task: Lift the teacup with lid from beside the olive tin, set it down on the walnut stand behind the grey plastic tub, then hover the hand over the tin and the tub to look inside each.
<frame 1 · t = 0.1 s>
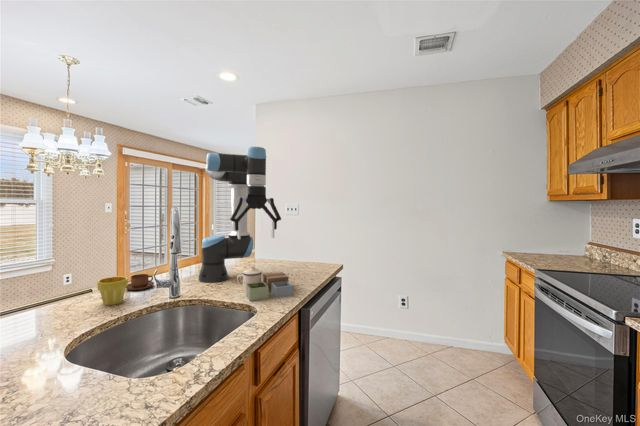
hand: (256, 238, 121), 28 cm above the worktop, tool pointing down, fingers open, 13 cm apart
olive tin: (257, 298, 131), on the worktop
plant pot: (113, 302, 124), on the worktop
grey tub: (281, 295, 137), on the worktop
cup and saucer: (139, 288, 144), on the worktop
teacup with lid: (249, 290, 143), on the worktop
walnut stand: (275, 289, 145), on the worktop
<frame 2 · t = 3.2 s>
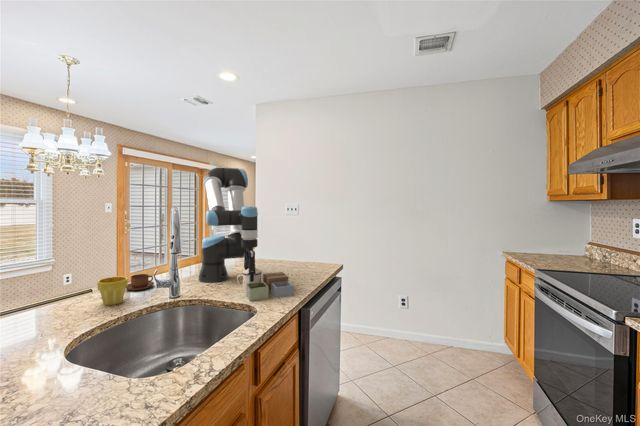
hand: (249, 285, 143), 2 cm above the worktop, tool pointing down, fingers closed on teacup with lid, 9 cm apart
teacup with lid: (249, 290, 144), on the worktop, touching gripper
everything else where it was.
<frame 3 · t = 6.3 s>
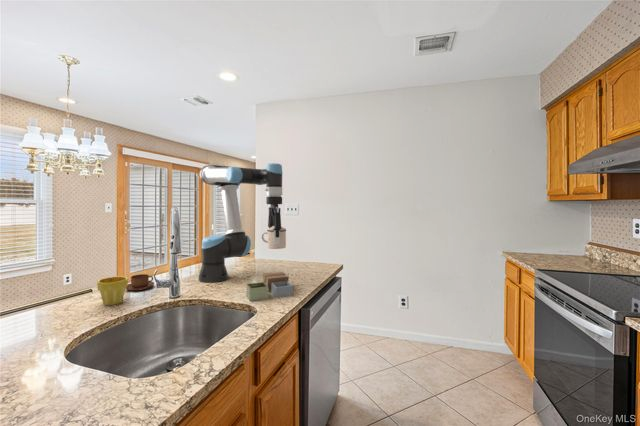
hand: (274, 242, 144), 23 cm above the worktop, tool pointing down, fingers closed on teacup with lid, 9 cm apart
teacup with lid: (273, 247, 144), point 20 cm above the worktop, touching gripper
when the fingers open (10 cm above the worktop, at t = 9.1 s): teacup with lid drops 1 cm, resting on walnut stand.
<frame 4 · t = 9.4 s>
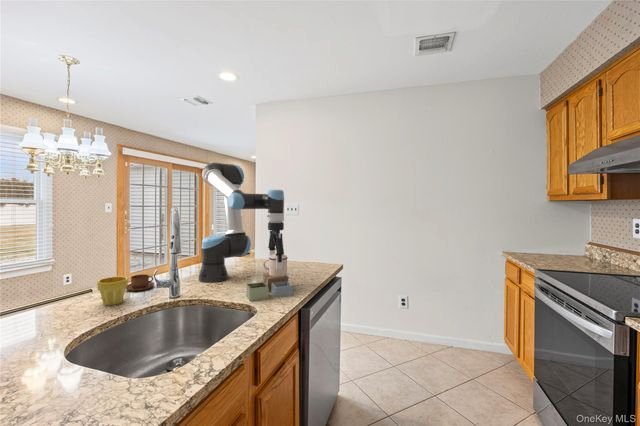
hand: (275, 266, 144), 11 cm above the worktop, tool pointing down, fingers open, 12 cm apart
teacup with lid: (275, 275, 145), point 7 cm above the worktop, touching walnut stand
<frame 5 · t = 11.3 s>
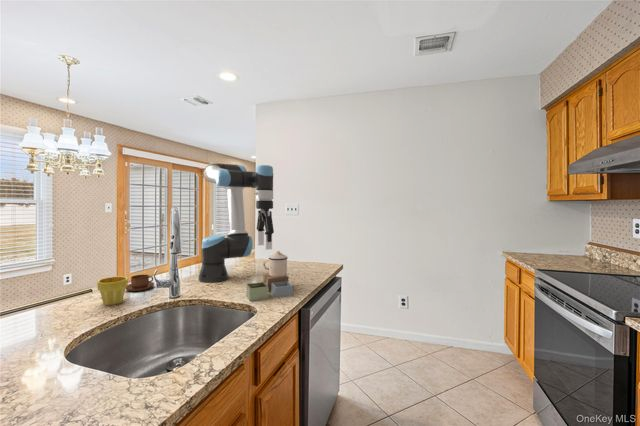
hand: (264, 247, 134), 22 cm above the worktop, tool pointing down, fingers open, 13 cm apart
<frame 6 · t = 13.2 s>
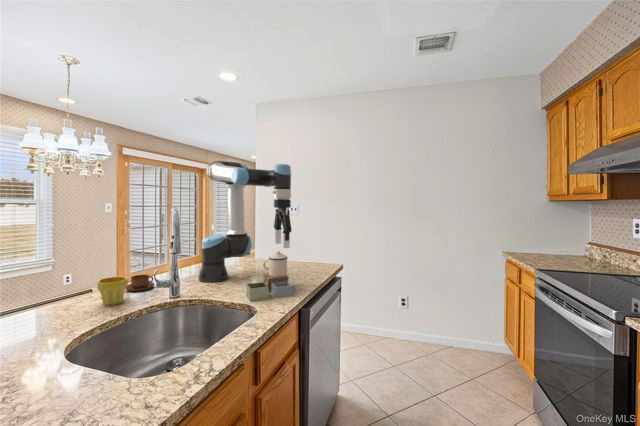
hand: (282, 245, 135), 23 cm above the worktop, tool pointing down, fingers open, 13 cm apart
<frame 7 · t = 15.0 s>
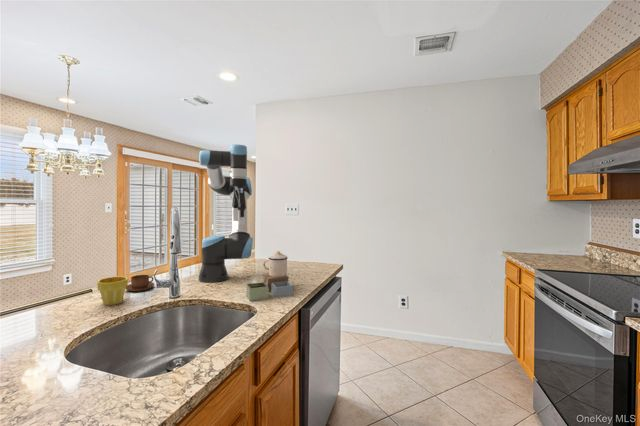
hand: (238, 222, 143), 32 cm above the worktop, tool pointing down, fingers open, 13 cm apart
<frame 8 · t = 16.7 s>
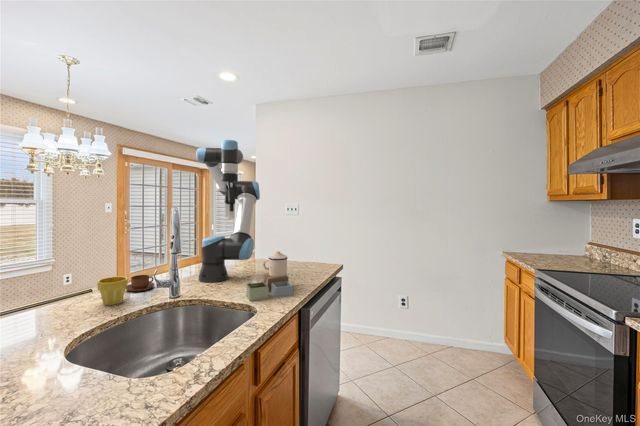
hand: (229, 217, 143), 35 cm above the worktop, tool pointing down, fingers open, 13 cm apart
at the end: teacup with lid inside the target area (0.6 cm from its centre), point 6.8 cm above the worktop; teacup with lid tilted 0°; the gripper is holding nothing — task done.
